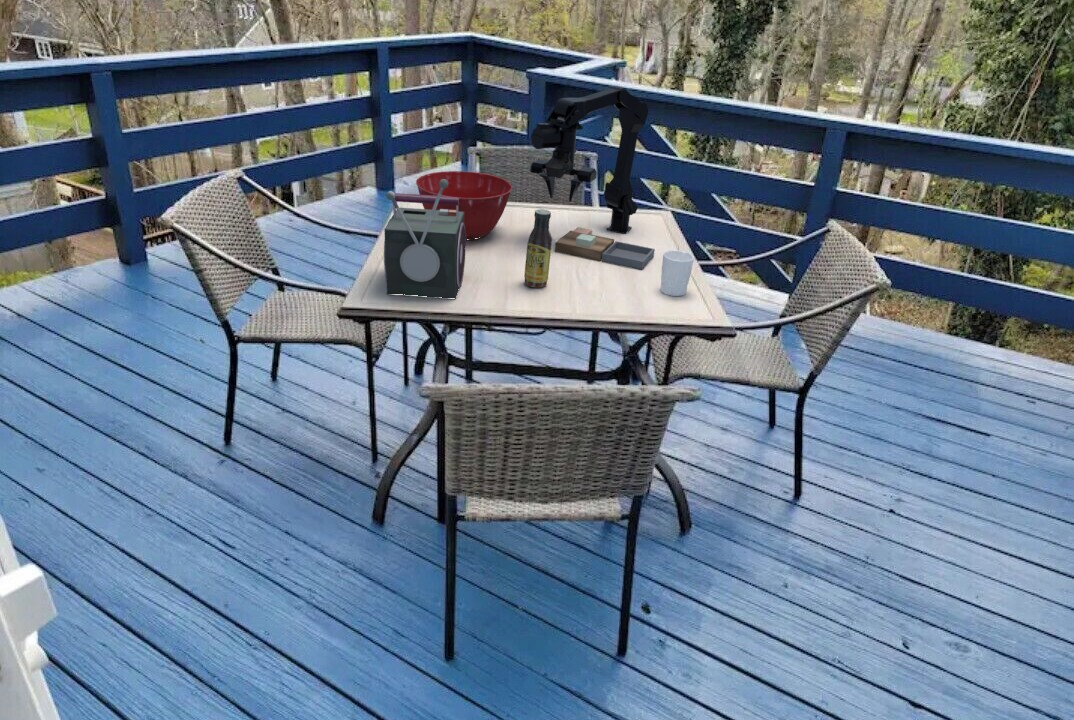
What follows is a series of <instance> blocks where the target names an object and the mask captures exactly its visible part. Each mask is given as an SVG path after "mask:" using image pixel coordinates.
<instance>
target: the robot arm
mask: <svg viewBox="0 0 1074 720" xmlns="http://www.w3.org/2000/svg"><path fill="white" fill-rule="evenodd" d="M611 106H614V108H616V109H617V110H618V112H619V113H618V121H619V125H620V128H621V134H620V139H619V145H618V149H617V150H618V152H617V156H616V163H615V169H614V173H613V177H612V179H611V180H610V181H609V182H608V181H607V182H605V185H604V192H603V193H602V195H603V196H604V198H603V199H604V201H605V202H606V203H605V204H606V208H607V209H610V210H611V218H610V225H609V226H608V227H607V228H606V231H611V232H616V233H620V234H627V233H628V232H630V230H631V229H632V228H633V227H632V226H629V225H630V224H629V223H630V217H631V216H632V215H635V214H636V212H637V210H638V205H637V204H636V203H635V201H634V200H633V188H632V184H631V180H630V179H631V174H632V168H633V162H634V158H635V152H636V148H637V143H638V141H637V140H638V136H639V132H640V131H641V130H642V128H643V127H644V126H645V124H646V122H647V118H648V116H649V107H648V105H647V104H646V102H643V101H641V100H639V99H638V98H636V97H635V96H633V95H632V94H631V93H630V92H629V91H628V90H627V89H626V88H623V87H620V86H611V87H610V88H608V89H605V90H600V91H598V92H595V93H591V94H589V95H586V96H583V97H562V98H561V97H560V98H559V99H558V100H556V103H555V105H554V107H553V109H552V110H551V111H550V113H549V114H548V117H547V118H546V120H545V123H543V122H537V123H536V127H535V128H534V129H533V130H532V132H531V135H530V141H531V145H532V146H533V148H534V149H535V150H543V149H545V150H546V149H552V151H553V152H552V155H551V157H550V159H549V160H546V159H539V158H538V159H536V160H535V161H533V162H531V163H530V166H529V173H533V174H536V175H537V174H538V175H539V177H540V178H542V179H543V180H544V182H545V184H546V187H547V191H548V194H549V197H550V199H553V198H554V194H555V185H556V184H555V182H556V179H562V178H563V177H564V175H567V176H573V179H570V189H569V195H568V196H569V198H568V202H570V203H572V201H573V199H574V196H575V195H576V192H577V191H578V189H579V187H580V185H581V184H582V183H583V182H584V183H592V182H593V181H595V180H596V179H597V173H598V172H597V170H596V168H594V167H587V166H583V167H582V168H580V169H578V168H575V167H576V163H575V156H576V155H575V154H576V153H577V148H576V142H577V141H576V139H577V131H581V130H583V129H584V127H583V125H582V124H580V121H581V120H583V119H585V118H586V116H587V115H589V114H591V113H593V112H595V111H599V110H601V109H605V108H607V107H611Z"/></svg>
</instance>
